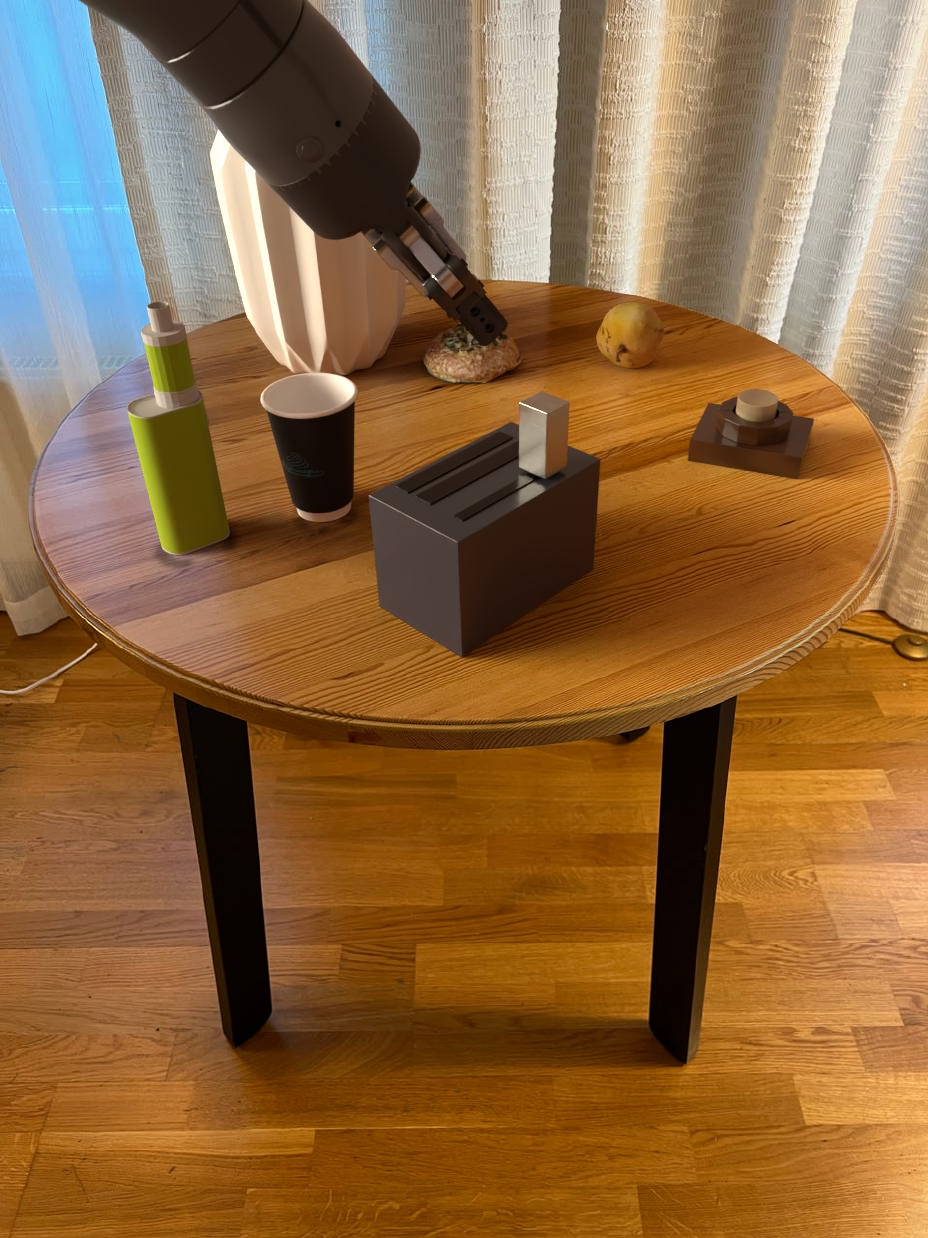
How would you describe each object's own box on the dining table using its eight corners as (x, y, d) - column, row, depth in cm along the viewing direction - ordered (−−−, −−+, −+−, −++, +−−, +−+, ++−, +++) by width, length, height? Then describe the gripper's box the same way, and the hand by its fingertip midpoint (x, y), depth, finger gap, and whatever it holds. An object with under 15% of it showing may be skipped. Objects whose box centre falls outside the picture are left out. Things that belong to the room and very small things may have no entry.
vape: (238, 534, 87) (193, 305, 75) (172, 559, 84) (115, 326, 72) (219, 516, 89) (172, 291, 77) (154, 539, 87) (96, 310, 74)
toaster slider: (545, 479, 73) (547, 413, 70) (518, 467, 74) (518, 401, 71) (567, 467, 74) (569, 401, 71) (540, 455, 75) (541, 390, 72)
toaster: (462, 658, 73) (457, 541, 67) (379, 606, 78) (368, 493, 72) (593, 569, 82) (600, 457, 75) (511, 527, 87) (511, 419, 80)
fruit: (651, 336, 103) (686, 301, 110) (591, 309, 105) (629, 276, 112) (631, 393, 108) (665, 356, 115) (574, 366, 110) (611, 331, 117)
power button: (778, 409, 95) (781, 392, 94) (771, 426, 92) (775, 408, 91) (739, 403, 96) (741, 386, 95) (731, 420, 93) (734, 402, 92)
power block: (810, 439, 97) (818, 400, 95) (797, 479, 92) (805, 439, 89) (705, 422, 101) (710, 385, 98) (687, 460, 95) (692, 421, 92)
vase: (215, 351, 118) (166, 87, 101) (359, 309, 126) (335, 60, 110) (298, 410, 105) (257, 120, 88) (451, 359, 114) (440, 87, 97)
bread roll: (451, 334, 119) (454, 294, 115) (536, 364, 115) (542, 323, 112) (401, 375, 111) (403, 334, 108) (491, 408, 108) (496, 366, 105)
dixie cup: (281, 537, 87) (261, 419, 80) (277, 490, 93) (258, 377, 86) (374, 525, 88) (362, 408, 81) (363, 479, 94) (352, 367, 87)
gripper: (410, 109, 47) (586, 340, 59) (327, 29, 55) (496, 245, 68) (293, 226, 48) (489, 427, 61) (230, 130, 57) (413, 323, 69)
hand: (492, 331), depth 64 cm, fingers closed
